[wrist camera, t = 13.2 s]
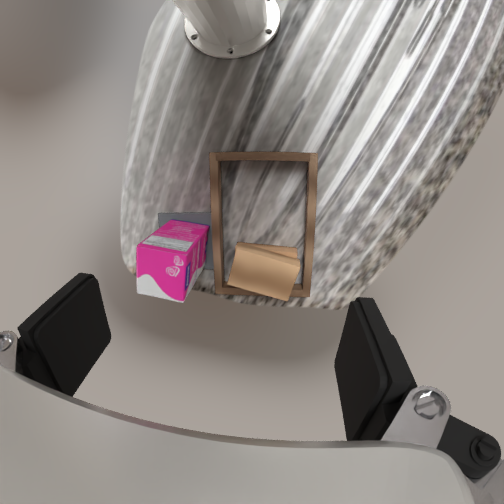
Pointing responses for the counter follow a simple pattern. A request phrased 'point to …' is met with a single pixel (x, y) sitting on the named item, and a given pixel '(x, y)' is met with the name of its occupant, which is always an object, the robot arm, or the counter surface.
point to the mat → (195, 218)
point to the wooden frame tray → (216, 216)
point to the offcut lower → (276, 249)
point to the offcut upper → (263, 271)
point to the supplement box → (171, 260)
